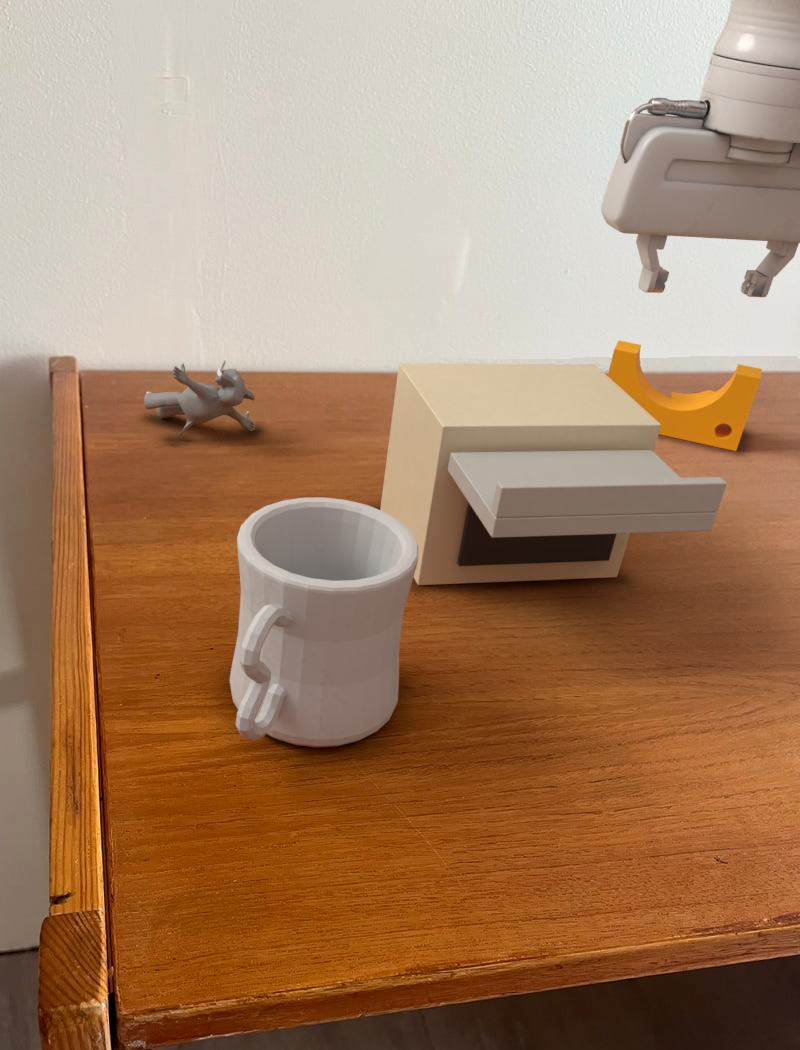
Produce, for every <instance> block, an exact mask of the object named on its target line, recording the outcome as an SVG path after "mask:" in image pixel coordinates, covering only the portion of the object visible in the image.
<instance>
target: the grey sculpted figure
mask: <svg viewBox="0 0 800 1050" xmlns="http://www.w3.org/2000/svg"><path fill="white" fill-rule="evenodd" d="M226 362H227V361H226V360H223V361H222V363H221V364H220V366H219V367H218V369H217V371H216V374H217V375H216V377H215V378H214V382H215V383H216V384H217V386H216V385H210V384H209V383H206V382H200V381H199V382H196V381H194V380H192V379H191V378H189V377H188V375H187V373H186V366H185V363H181V364H180V368H181V369H180V368H179V367H178V366H177V365H174V367H173V368H172V371H173V372H172V375H173V378H174V379H175V380H176V381H177V382H178V383H180V384H182V385H184V386H186V388H185V389H184V390H183V392H180V391H164V392H151V391H146V393H145V395H144V398H143V405H144V408H145V409H146V410H154V409H156V410H155V411H156V415H157V418H159V419H165V418H171V417H173V416H174V417H175V416H185V417H186V423H185V425H184V427H183V428H182V430H181V431H180V432H179V433H178V434H177V436H176V440H178V439H180V437H182V436H183V434H185V433H186V432H187V431H188V430H189V429H190V428H191V427H192V426H193V425H203V424H205V423H207V422H209V421H212V420H215V419H216V418H219V417H222V416H228V417H230V418H231V419H233V420H235V421H237V423H238V424H239V425H240V426H241V427H242V428H243V429H244V430H247V431H249V432H252V431H254V430H255V428H256V425H255V424H256V422H255V421H252V420H251V419H250V418H249V416H250V411H248V410H247V411H246V413H244V414H243V415H242V414H241V413H240V412H239V411H238V410H237V409H236V408H235V407H237V406H239V405H241V404H242V403H243V400H244V399H245V400H250V401H255V400H256V397H255V394H254V393H253V392H252V391H250V390H249V389H248V388H246V385H245V380H244V379H243V378H242V377H241V374H240V372H239V371H238V370H237V368H227V369H224V367H225V365H226ZM218 386H219V387H220V386H221V387H220V388H219V387H218Z"/></svg>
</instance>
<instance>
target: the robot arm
mask: <svg viewBox="0 0 800 1050" xmlns="http://www.w3.org/2000/svg"><path fill="white" fill-rule="evenodd" d="M698 99H699V100H692V99H681V100H680V99H678V100H677V99H676V100H675V99H669V98H666V97H652V98H650V99H649V100H648V102H645V103H643V104H641V105H640V106H638V107H636V108H635V109H634V110H633V111H632V112H631V113H630V114H628V117H627V119H626V121H625V123H624V127H623V130H622V135H621V139H620V145H619V149H620V151H619V153H618V156H617V158H616V160H615V162H614V165H613V168H612V171H611V173H610V177H609V179H608V181H607V185H606V188H605V192H604V195H603V198H602V202H601V207H600V212H601V214H602V216H603V219H604V221H605V223H606V224H607V225H608V226H610V227H611V228H613V229H614V230H616V231H617V232H619V233H622V234H630V235H631V234H632V235H637V237H636V240H635V244H636V247H637V251H638V255H639V259H640V263H641V265H642V268H641V271H640V275H639V279H638V285H637V286H638V289H640V290H641V291H642V292H644V293H649V294H650V293H651V294H652V293H653V294H654V293H656V294H662V293H664V291H665V290H666V283H667V281H668V279H669V275H670V272H669V271H668V270H667V269H666V268H664V267H662V266H661V265H660V260H659V256H658V255H659V254H658V250H661V251H662V250H664V249H665V247H666V244H667V243H666V242H667V239H668V237H682V238H683V237H685V238H702V239H718V240H719V239H722V240H739V241H754V242H755V241H759V242H766V246H765V248H766V249H767V250H769V252H768V253H767V254H766V256H765V257H764V258H763V260H762V261H761V262H760V263H759V265H757V267H756V268H755V269H746V272H745V275H744V277H743V278H744V281H743V282H742V283H741V287H740V292H741V293H742V294H744V295H746V297H748V298H749V297H750V298H751V297H752V298H766V297H767V296H768V294H769V292H770V288H771V286H772V283H773V280H774V278H776V277H777V276H778V274H780V273H781V272H782V270H784V269H785V267H786V266H787V265H788V264H789V263H791V261H792V260H793V259H794V258H795V256H796V253H797V250H798V247H799V244H800V0H730V8H729V12H728V15H727V20H726V22H725V25H724V27H723V29H722V31H721V34H720V35H719V37H718V39H717V40H716V42H715V44H714V47H713V49H712V54H711V57H710V59H709V64H708V66H707V71H706V74H705V77H704V81H703V86H702V89H701V92H700V95H699V98H698ZM643 111H644V112H643ZM645 111H647V113H645Z"/></svg>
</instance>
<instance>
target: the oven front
mask: <svg viewBox="0 0 800 1050" xmlns="http://www.w3.org/2000/svg"><path fill="white" fill-rule="evenodd" d="M390 423H391V424H390V429H389V438H388V445H387V453H386V454H387V455H386V460H385V461H386V462H385V468H384V477H383V484H382V485H383V486H382V492H381V499H380V509H379V510H381V511H384V512H386V513H387V514H389V515H391V516H392V517H394V518H396V519H397V520H399V521H401V522H402V523H403V524H404V525H405V526H406V527H407V528H408V529H409V530H410V531H411V532H412V534H413V536H414V538H415V540H416V542H417V544H418V546H419V549H418V563H417V567H416V570H415V574H414V577H413V580H414V581H415V583H416V585H417V586H435V585H436V586H438V585H457V584H458V585H459V584H481V583H482V584H485V583H508V582H530V581H531V582H532V581H535V582H536V581H557V580H581V579H605V578H606V579H607V578H608V579H609V578H617V577H618V575H619V572H620V568H621V565H622V562H623V558H624V554H625V552H626V551H625V550H626V548H627V544H628V540H629V538H630V534H654V533H655V534H656V533H657V534H658V533H682V532H683V533H685V532H687V533H688V532H710V531H712V529H713V525H714V523H715V519H716V517H717V512H718V511H719V508H720V504H721V503H722V500H723V497H724V495H725V490H726V487H727V484H728V483H727V481H725V480H724V479H723V478H722V477H721V476H700V477H698V476H697V477H693V476H691V477H680V476H679V474H677V472H675V470H673V469H672V468H671V466H669V465H668V464H667V463H666V462H665V461H664V460H663V459H662V458H661V457H660V456H659V455H658V454H657V453H656V452H654V451H655V448H656V445H657V441H658V438H659V435H660V434H659V431H660V428H661V424H660V423H659V422H658V421H657V420H656V419H654V418H653V417H652V416H651V415H650V414H649V413H648V412H647V411H646V410H644V409H643V408H642V407H641V406H640V405H639V404H638V403H637V402H636V401H635V400H633V399H632V398H631V397H630V396H629V395H628V394H627V393H626V392H625V391H623V390H622V389H621V388H620V387H619V386H618V385H617V384H616V383H615V382H614V381H612V380H611V379H610V378H609V377H608V374H606V373H605V372H604V371H603V370H602V369H600V368H599V367H598V366H597V364H591V363H589V364H587V363H586V364H583V363H582V364H581V363H579V364H578V363H577V364H575V363H573V364H572V363H571V364H570V363H568V364H567V363H427V362H426V363H422V362H421V363H420V362H419V363H418V362H417V363H416V362H415V363H413V362H411V363H409V362H406V363H401V362H400V363H398V367H397V376H396V384H395V391H394V400H393V407H392V415H391V421H390Z"/></svg>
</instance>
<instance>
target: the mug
mask: <svg viewBox="0 0 800 1050" xmlns="http://www.w3.org/2000/svg"><path fill="white" fill-rule="evenodd" d="M236 546H237V547H236V548H237V559H238V568H239V569H238V570H239V580H240V599H239V601H240V602H239V613H238V614H239V615H238V626H237V627H238V630H237V637H236V643H235V647H234V652H233V657H232V663H231V666H230V667H231V668H230V675H229V686H230V691H231V698H232V702H233V704H234V705H235V708H236V709H237V712H236V718H235V727H236V729H237V731H238V733H239V734H240V735H241V737H242V738H243V739H245V740H250V741H251V740H252V741H258V740H259V739H260V740H261V738H263V737H265V736H266V735H267V736H269V737H271V738H273V739H275V740H278V741H281V742H284V743H287V744H291V745H295V746H302V747H308V748H309V747H311V748H330V747H331V748H333V747H340V746H345V745H349V744H351V743H356V742H358V741H361V740H362V739H364V738H366V737H369V736H370V735H372V734H374V733H377V732H378V731H379V730H380V729H381V728H382V727H383V726H384V725H386V724H387V723H388V722H389V721H390V719H391V717H392V715H393V713H394V711H395V709H396V707H397V704H398V701H399V688H400V687H399V686H400V645H401V638H402V629H403V621H404V614H405V608H406V604H407V601H408V596H409V594H410V590H411V587H412V583H413V580H414V574H415V570H416V567H417V563H418V549H419V546H418V544H417V542H416V540H415V538H414V536H413V534H412V532H411V531H410V530H409V529H408V528H407V527H406V526H405V525H404V524H403V523H402V522H401V521H399V520H397V519H396V518H394V517H392V516H391V515H389V514H387V513H386V512H384V511H381V510H380V509H378V508H377V507H374V506H371V505H368V504H365V503H360V502H358V501H357V502H356V501H353V500H348V499H342V498H332V497H324V496H323V497H298V498H291V499H285V500H284V499H283V500H281V501H277V502H274V503H270V504H268V505H265V506H263V507H261V508H259V509H258V510H256V511H254V512H253V513H251V514H250V515H249V516H248V517H247V518H246V519H245V520H244V522H243V523H242V524H241V525H240V528H239V530H238V533H237V537H236Z"/></svg>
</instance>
